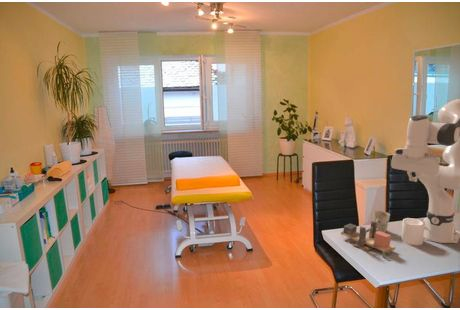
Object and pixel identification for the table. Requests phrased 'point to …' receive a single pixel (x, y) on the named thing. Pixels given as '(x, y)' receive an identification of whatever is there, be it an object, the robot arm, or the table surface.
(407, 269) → the table surface
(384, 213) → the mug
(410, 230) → the mug
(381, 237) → the salmon red rectangular block
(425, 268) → the table surface
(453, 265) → the table surface
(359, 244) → the stand
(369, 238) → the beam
